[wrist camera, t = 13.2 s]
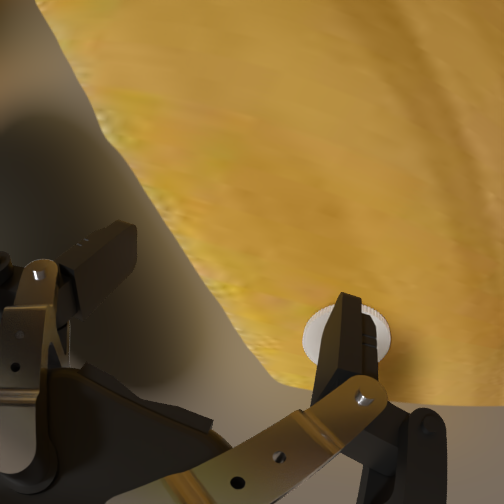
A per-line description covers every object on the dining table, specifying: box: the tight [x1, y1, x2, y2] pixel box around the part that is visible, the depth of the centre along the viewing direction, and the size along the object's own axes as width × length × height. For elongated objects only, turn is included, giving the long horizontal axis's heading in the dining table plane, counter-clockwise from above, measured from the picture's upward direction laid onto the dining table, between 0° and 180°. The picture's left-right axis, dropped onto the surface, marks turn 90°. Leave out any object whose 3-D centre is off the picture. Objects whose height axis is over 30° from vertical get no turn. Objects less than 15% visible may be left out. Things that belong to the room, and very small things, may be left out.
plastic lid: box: [302, 304, 391, 365], centre depth 48 cm, size 14×14×2 cm
